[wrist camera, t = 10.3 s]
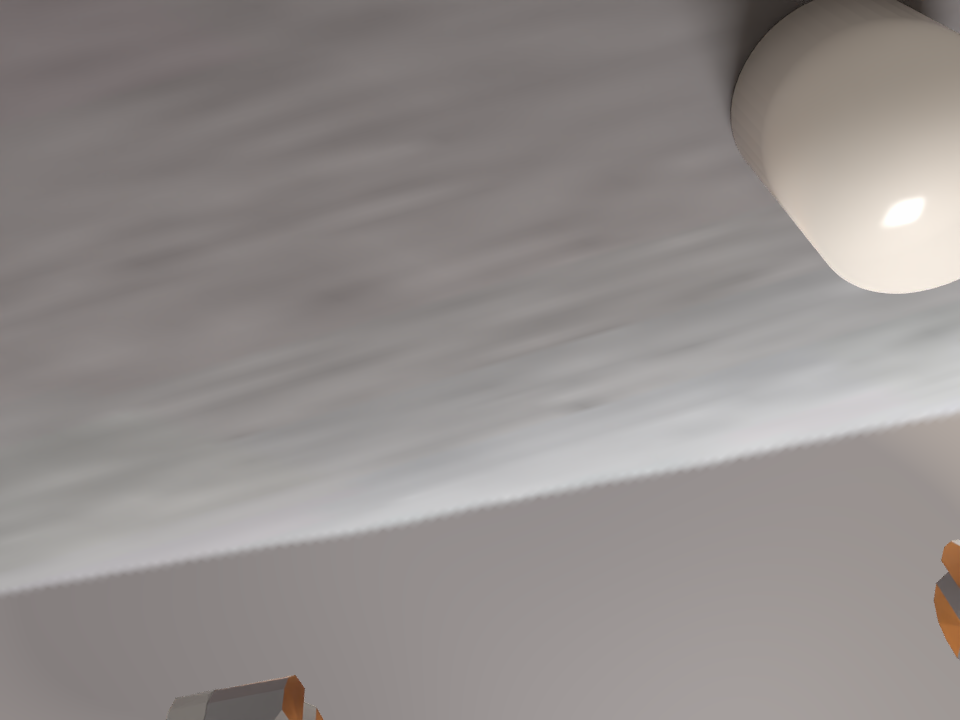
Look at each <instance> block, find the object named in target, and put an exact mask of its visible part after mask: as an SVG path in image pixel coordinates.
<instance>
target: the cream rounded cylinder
mask: <svg viewBox="0 0 960 720" xmlns="http://www.w3.org/2000/svg"><path fill="white" fill-rule="evenodd" d="M731 126H732V132H733V137H734V140H735V143H736V146H737V148H738V150H739V152H740V154H741V155H742V157H743V158H744V160H745V161H746V162H747V164H748V165H749V166H750V167H751V169H752V170H753V171H754V172H755V174H756V175H757V176H758V177H759V179H760V180H761V181H762V182H763V184H764V185H765V186H766V187H767V189H768V190H769V191H770V192H771V194H772V195H773V196H774V197H775V199H776V200H777V201H778V202H779V204H780V205H781V206H782V207H783V209H784V210H785V211H786V212H787V214H788V215H789V216H790V217H791V219H792V220H793V221H794V222H795V224H796V225H797V226H798V227H799V229H800V230H801V231H802V232H803V234H804V235H805V236H806V237H807V239H808V240H809V241H810V242H811V244H812V245H813V246H814V247H815V249H816V250H817V251H818V252H819V254H820V255H821V256H822V257H823V259H824V260H825V261H826V262H827V264H828V265H829V266H830V267H831V269H832V270H833V271H835V272H836V273H837V274H838V275H839V276H840V277H841V278H843V279H845V280H846V281H848V282H849V283H851V284H853V285H856V286H858V287H860V288H863V289H866V290H870V291H874V292H881V293H911V292H919V291H923V290H928V289H933V288H936V287H939V286H942V285H945V284H948V283H951V282H953V281H955V280H958V279H960V34H959V33H957V32H955V31H953V30H951V29H949V28H947V27H946V26H944V25H942V24H940V23H938V22H936V21H934V20H932V19H931V18H929V17H927V16H925V15H923V14H921V13H919V12H917V11H916V10H914V9H912V8H910V7H908V6H906V5H904V4H902V3H901V2H899V1H897V0H813V1H811V2H809V3H807V4H805V5H803V6H801V7H799V8H798V9H796V10H795V11H793V12H792V13H790V14H789V15H787V16H786V17H785V18H783V19H782V20H781V21H780V22H778V23H777V24H776V25H775V26H774V27H773V28H772V29H771V30H770V31H769V32H768V33H767V34H766V35H765V36H764V37H763V38H762V39H761V41H760V42H759V43H758V45H757V46H756V47H755V48H754V50H753V51H752V53H751V54H750V56H749V58H748V59H747V61H746V63H745V65H744V67H743V69H742V71H741V73H740V75H739V78H738V81H737V83H736V86H735V90H734V94H733V99H732V107H731Z"/></svg>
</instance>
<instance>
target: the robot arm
mask: <svg viewBox="0 0 960 720" xmlns="http://www.w3.org/2000/svg"><path fill="white" fill-rule="evenodd" d="M941 561H942V563H943V564H944V566H945V567H946V569H947V570H948V573H947V574H946V575H945V576H943V577H942V579H940V580H939V581H938V582H937V583H936V588H935V595H934V604H935V609H936V614H937V619H938V623H939V625H940V627H941V629H942V631H943V634H944V636H945V638H946V640H947V642H948V644H949V645H950V647H951V649H952V650H953V652H954V654H955V655H956V657H957V658H958V659H960V539H958V540H954V541H951V542H949V543H948V544H947V545H946V546H945V547H944V550H943V554H942V559H941ZM304 693H305V688H304V686H303V685H302V684H301V682H300V681H299V679H298V678H297V676H296V675H291V676H286V677H281V678H276V679H271V680H266V681H261V682H255V683H250V684H245V685H240V686H235V687H230V688H224V689H219V690H218V689H217V690H211V691H206V692H202V693H197V694H192V695H187V696H182V697H178V698H175V700H174V702H173V704H172V706H171V707H170V709H169V711H168V713H167V717H166V720H323V718H322V716H321V715H320V713H319V711H318V709H317V708H316V707H315V706H312V705H310V704H307V703H305V702H304Z"/></svg>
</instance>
